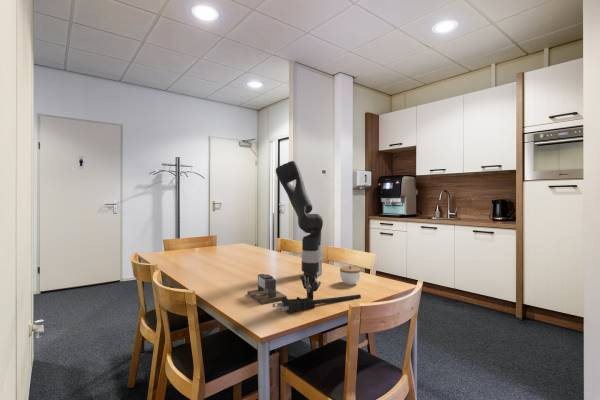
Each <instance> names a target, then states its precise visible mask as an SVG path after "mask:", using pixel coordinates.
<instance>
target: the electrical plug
mask: <svg viewBox="0 0 600 400" xmlns="http://www.w3.org/2000/svg"><path fill="white" fill-rule="evenodd" d="M361 298H362V296H361V294H354V295H353V294H352V295H345V296H337V297H327V298H319V299H313V300H312V299H311V298H307V297H303V298H302V297H299V296H298V297H296V298H288V297H287V298H286V297H282V301H281V302H274V303H272V308H277V310H276V312H283V311H285V312H286V313H288V314H289V315H293V313H294V312H299V311H303V312H306V310H310V309H315V307H316V306H315V305H321V304H330V303H337V302H343V301H351V300H357V299H361ZM276 305H277V306H276Z"/></svg>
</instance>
